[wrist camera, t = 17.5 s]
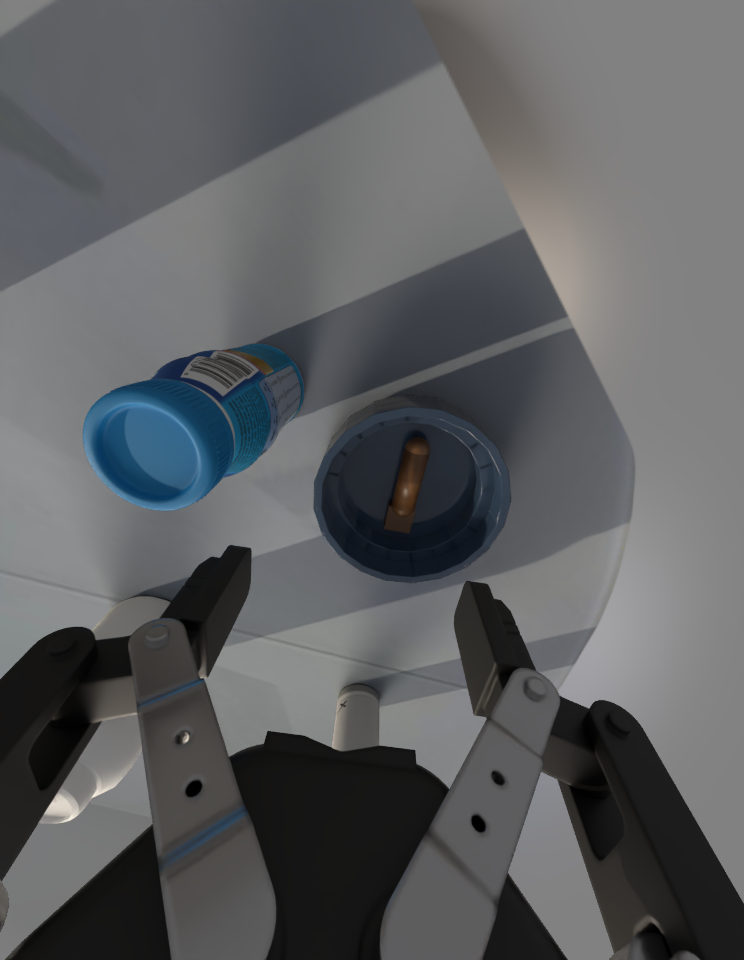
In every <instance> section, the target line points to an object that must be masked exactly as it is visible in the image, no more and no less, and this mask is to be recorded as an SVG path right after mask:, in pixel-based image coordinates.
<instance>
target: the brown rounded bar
mask: <svg viewBox="0 0 744 960" xmlns="http://www.w3.org/2000/svg"><path fill="white" fill-rule="evenodd" d="M429 454H430V445H429V443H428V442H427V441H426V440H425V439H424V438H421V437H414V438H411V439H410V440H409V441H408V442H407V443H406V445H405V448H404V452H403V456H402V461H401V465H400V469H399V473H398V478H397V482H396V486H395V490H394V495H393V499H392V502H391V501H389V502H388V507H387V511H386V515H385V520H384V529H387V530H392V531H398V532H404V533H410V530H411V527H412V523H413V519H414V515H415V512H416V510H415V507H416V503H417V499H418V496H419V492H420V488H421V484H422V481H423V477H424V473H425V469H426V466H427V462H428V458H429Z"/></svg>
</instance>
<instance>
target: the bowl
mask: <svg viewBox="0 0 744 960" xmlns="http://www.w3.org/2000/svg"><path fill="white" fill-rule="evenodd" d="M414 437H421V438H424V439H425V440H426V441H427V442H428V443H429V445H430V454H429V458H428V462H427V466H426V469H425V473H424V477H423V481H422V484H421V488H420V492H419V496H418V499H417V503H416V507H415V510H416V512H415V515H414V519H413V523H412V527H411V530H410V533H404V532H398V531H392V530H387V529H384V520H385V515H386V511H387V507H388V502H389V501H391V502H392V499H393V495H394V490H395V486H396V482H397V478H398V473H399V469H400V465H401V461H402V456H403V452H404V448H405V445H406V443H407V442H408V441H409V440H410V439H411V438H414ZM510 502H511V491H510V479H509V471H508V469H507V467H506V465H505V463H504V460H503V458H502V456H501V454H500V452H499V450H498V448H497V446H496V445H495V443H494V442H493V441H492V440H491V439H490V438H489V437H488V435H487V434H486V433H485V432H484V431H483V430H482V428H481V427H480V426H478V425H477V424H476V423H475V422H474V421H473V420H472V419H471V418H470V417H469V416H468V415H467V414H466V413H465V412H464V411H463V410H461V409H460V408H458V407H455V406H453V405H451V404H449V403H446V402H444V401H442V400H440V399H437V398H434V397H426V396H415V395H401V396H396V397H392V398H387V399H383V400H378V401H375V402H373V403H371V404H370V405H368V406H366V407H365V408H363V409H361V410H360V411H358V412H356V413H354V414H353V415H351V416H350V417H349V418H348V419H347V421H346V422H345V423H344V424H343V425H342V426H341V427H340V429H339V430H338V431H337V432H336V433H335V434H334V436H333V437H332V439H331V441H330V444H329V446H328V448H327V451H326V453H325V456H324V458H323V461H322V463H321V466H320V468H319V471H318V473H317V476H316V478H315V481H314V512H315V515H316V518H317V521H318V524H319V527H320V530H321V533H322V535H323V536H324V538H325V539H326V540H327V542H328V543H329V544H330V546H331V547H332V548H333V550H334V551H335V552H336V554H337V555H338V556H339V557H341V558H342V559H343V560H345V561H346V562H348V563H349V564H350V565H352V566H353V567H355V568H356V569H357V570H359V571H360V572H363V573H366V574H369V575H371V576H374V577H377V578H380V579H382V580H386V581H396V582H407V583H416V582H423V581H429V580H435V579H440V578H443V577H446V576H448V575H450V574H452V573H455V572H457V571H459V570H461V569H464V568H466V567H467V566H469V565H470V564H471V563H472V562H474V561H475V560H476V559H477V558H478V557H480V556H481V555H482V554H483V553H485V552H486V551H487V550H488V549H489V548H490V546H491V545H492V543H493V542H494V540H495V539H496V537H497V536H498V534H499V533H500V531H501V530H502V528H503V527H504V524H505V521H506V517H507V513H508V510H509V506H510Z"/></svg>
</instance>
